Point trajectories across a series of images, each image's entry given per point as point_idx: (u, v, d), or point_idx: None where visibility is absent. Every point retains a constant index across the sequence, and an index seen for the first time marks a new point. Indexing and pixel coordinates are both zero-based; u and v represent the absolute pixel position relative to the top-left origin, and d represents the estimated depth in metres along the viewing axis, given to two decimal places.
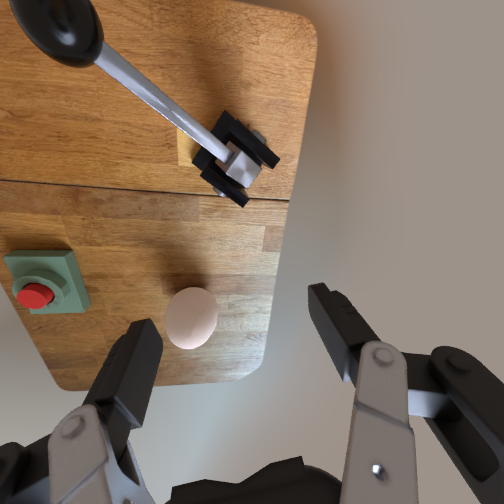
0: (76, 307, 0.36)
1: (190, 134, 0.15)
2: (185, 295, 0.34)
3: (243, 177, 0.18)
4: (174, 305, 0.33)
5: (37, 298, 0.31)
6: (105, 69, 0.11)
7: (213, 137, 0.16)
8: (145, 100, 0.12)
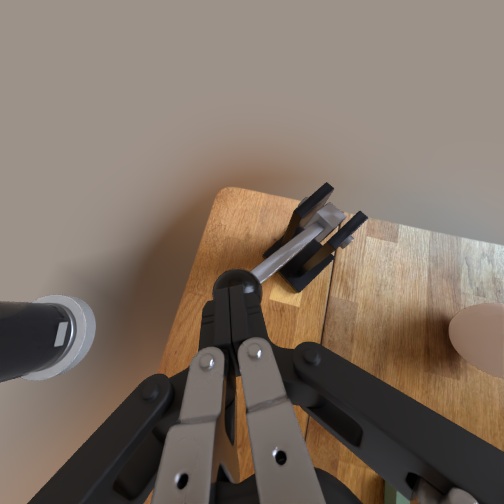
0: None
1: (303, 244, 0.17)
2: (467, 338, 0.25)
3: (337, 216, 0.20)
4: (486, 356, 0.24)
5: None
6: (264, 278, 0.14)
7: (305, 230, 0.18)
8: (281, 263, 0.15)
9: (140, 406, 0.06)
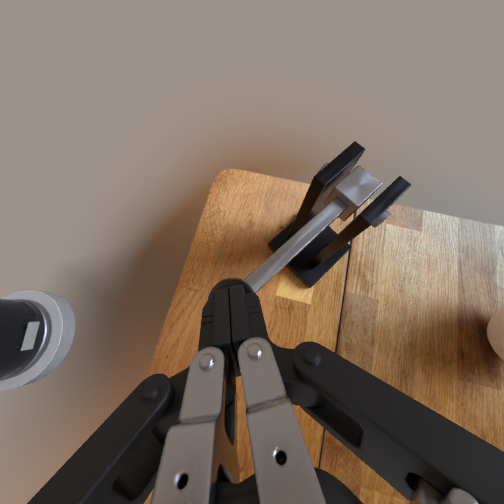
0: None
1: (313, 235, 0.15)
2: None
3: (366, 187, 0.15)
4: None
5: None
6: (259, 286, 0.14)
7: (318, 215, 0.15)
8: (281, 265, 0.14)
9: (140, 406, 0.06)
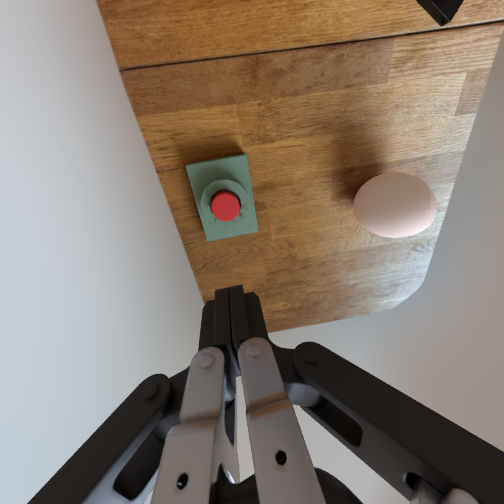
0: (251, 225, 0.32)
1: None
2: (389, 175, 0.28)
3: None
4: (384, 185, 0.27)
5: (231, 205, 0.27)
6: None
7: None
8: None
9: (140, 406, 0.06)
